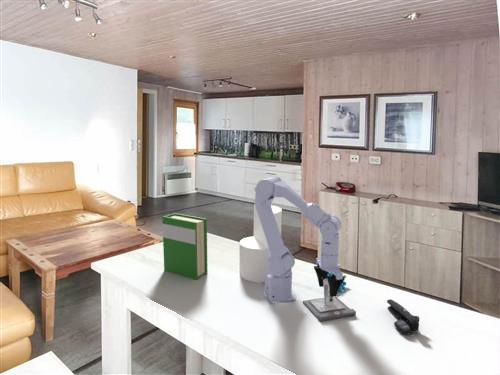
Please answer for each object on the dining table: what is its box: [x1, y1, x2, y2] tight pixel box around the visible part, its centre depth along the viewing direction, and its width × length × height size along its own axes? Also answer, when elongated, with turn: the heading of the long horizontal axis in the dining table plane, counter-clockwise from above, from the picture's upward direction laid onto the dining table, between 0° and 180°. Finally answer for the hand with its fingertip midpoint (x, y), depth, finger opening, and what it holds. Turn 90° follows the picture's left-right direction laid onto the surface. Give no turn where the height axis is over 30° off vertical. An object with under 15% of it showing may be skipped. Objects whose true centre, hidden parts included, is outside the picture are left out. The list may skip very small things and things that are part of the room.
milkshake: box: [322, 278, 335, 306], centre depth 122 cm, size 4×5×10 cm
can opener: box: [386, 298, 421, 335], centre depth 115 cm, size 18×7×6 cm, turn 1°
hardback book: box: [162, 212, 208, 281], centre depth 150 cm, size 18×7×24 cm, turn 59°
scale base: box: [302, 296, 357, 323], centre depth 122 cm, size 13×13×2 cm
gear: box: [327, 272, 347, 293], centre depth 139 cm, size 11×6×10 cm
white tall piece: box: [239, 204, 283, 283], centre depth 149 cm, size 17×17×28 cm
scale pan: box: [309, 298, 346, 313], centre depth 123 cm, size 10×8×1 cm
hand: (327, 291), depth 122 cm, fingers open, 7 cm apart
